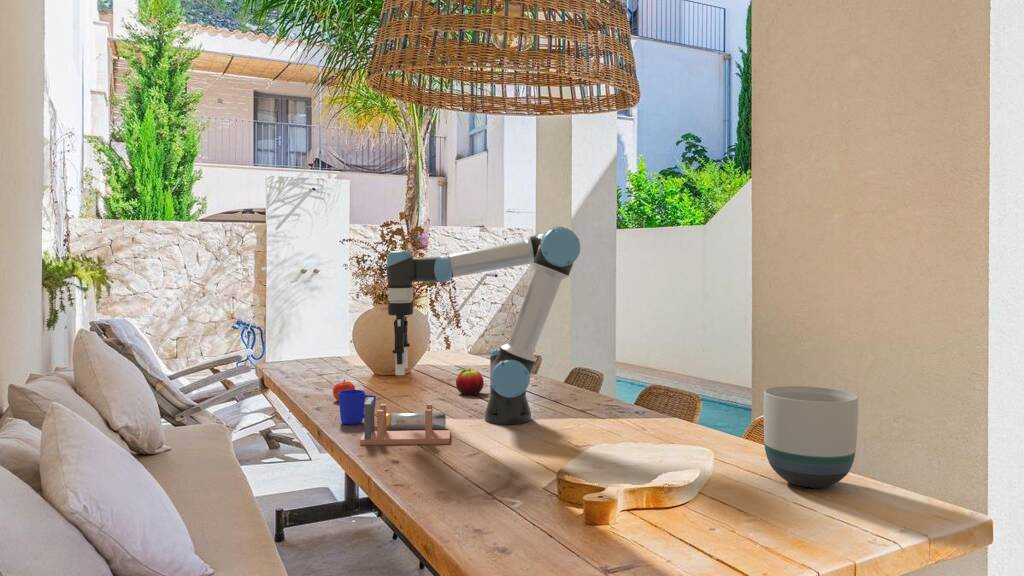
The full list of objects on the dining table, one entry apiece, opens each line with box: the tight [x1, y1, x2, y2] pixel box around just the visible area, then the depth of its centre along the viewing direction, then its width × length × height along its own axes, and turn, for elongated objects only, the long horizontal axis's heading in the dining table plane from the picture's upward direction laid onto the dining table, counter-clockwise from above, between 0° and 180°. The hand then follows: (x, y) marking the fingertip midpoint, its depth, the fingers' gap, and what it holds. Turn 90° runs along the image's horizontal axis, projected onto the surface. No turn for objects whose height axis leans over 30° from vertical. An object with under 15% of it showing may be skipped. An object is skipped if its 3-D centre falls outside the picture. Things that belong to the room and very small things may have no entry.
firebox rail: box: [359, 397, 451, 446], centre depth 212 cm, size 25×10×12 cm, turn 94°
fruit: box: [455, 367, 485, 396], centre depth 284 cm, size 11×11×10 cm
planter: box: [763, 385, 859, 489], centre depth 172 cm, size 20×20×21 cm
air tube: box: [386, 412, 447, 431], centre depth 225 cm, size 20×5×5 cm, turn 94°
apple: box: [332, 379, 356, 402], centre depth 269 cm, size 8×8×8 cm
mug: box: [338, 389, 377, 426], centre depth 233 cm, size 8×12×10 cm
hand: (401, 371), depth 224 cm, fingers open, 13 cm apart
